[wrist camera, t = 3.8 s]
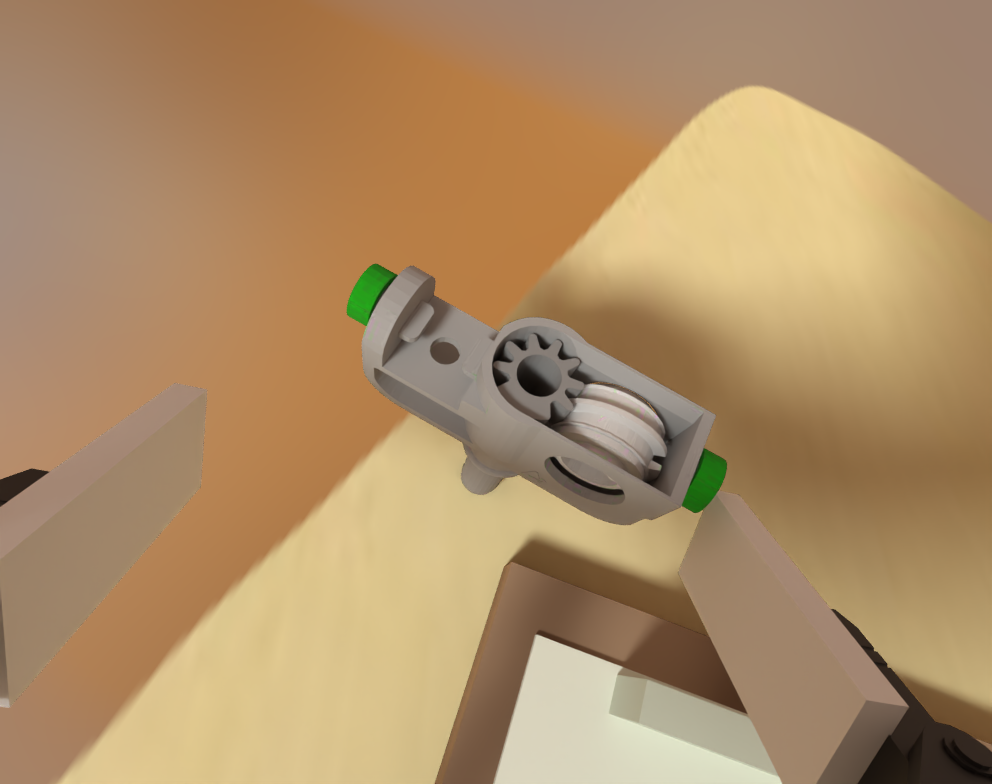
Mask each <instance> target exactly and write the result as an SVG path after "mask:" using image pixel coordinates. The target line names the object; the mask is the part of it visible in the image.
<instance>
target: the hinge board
mask: <svg viewBox="0 0 992 784" xmlns="http://www.w3.org/2000/svg"><path fill="white" fill-rule="evenodd" d="M974 739H976V738H974ZM976 740H977V741H979V742H980V743H982V744H983V745H985V746H986V747H987V748H988V749H989V750H990V751H992V744H989V743H987V742H984V741H981V740H979V739H976ZM435 784H782V782H781V780H780V778H779V776H778V774H777V772H776V770H775V768H774V766H773V764H772V762H771V760H770V758H769V756H768V754H767V752H766V750H765V747H764V745H763V743H762V741H761V739H760V737H759V735H758V733H757V731H756V729H755V727H754V725H753V723H752V721H751V719H750V717H749V715H748V713H747V711H746V709H745V707H744V705H743V703H742V701H741V699H740V697H739V695H738V693H737V691H736V689H735V687H734V685H733V683H732V681H731V679H730V677H729V675H728V673H727V671H726V669H725V667H724V665H723V663H722V661H721V659H720V657H719V655H718V653H717V651H716V649H715V647H714V645H713V643H712V641H711V639H710V637H708V636H706V635H703V634H700V633H698V632H695V631H692V630H690V629H687V628H685V627H682V626H679V625H677V624H674V623H671V622H669V621H666V620H664V619H661V618H658V617H656V616H653V615H650V614H648V613H645V612H643V611H640V610H637V609H635V608H632V607H629V606H627V605H624V604H622V603H619V602H616V601H614V600H611V599H608V598H606V597H603V596H601V595H598V594H595V593H593V592H590V591H587V590H585V589H582V588H580V587H577V586H574V585H572V584H569V583H566V582H564V581H561V580H559V579H556V578H553V577H551V576H548V575H545V574H543V573H540V572H538V571H535V570H532V569H530V568H527V567H524V566H522V565H519V564H517V563H514V562H511V563H509V564H508V565H506V566H505V567H504V569H503V572H502V575H501V578H500V581H499V585H498V588H497V591H496V594H495V597H494V600H493V603H492V606H491V610H490V613H489V616H488V619H487V622H486V625H485V628H484V631H483V635H482V638H481V641H480V644H479V647H478V650H477V653H476V656H475V660H474V663H473V666H472V669H471V672H470V675H469V678H468V681H467V685H466V688H465V691H464V694H463V697H462V700H461V703H460V706H459V710H458V713H457V716H456V719H455V722H454V725H453V728H452V731H451V734H450V738H449V741H448V744H447V747H446V750H445V753H444V756H443V759H442V763H441V766H440V769H439V772H438V775H437V778H436V781H435Z"/></svg>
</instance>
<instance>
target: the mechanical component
mask: <svg viewBox="0 0 992 784" xmlns="http://www.w3.org/2000/svg"><path fill="white" fill-rule="evenodd" d="M434 290H435V278H434V277H432V276H430V275H429V274H427V273H425V272H423V271H422V270H420V269H418V268H416V267H415V266H409V267H407V268H406V269H404V270H403V271H402V272H401V273H400V274H399V275H396V274H394V273H393V272H391V271H389V270H387V269H385V268H384V267H382V266H380V265H378V264H373V265H371V266H370V267H369V268H368V269H367V270H366V271H365V272H364V273H363V274H362V276H361V277H360V278H359V280H358V282H357V283H356V285H355V287H354V289H353V291H352V293H351V295H350V298H349V300H348V305H347V315H348V316H349V317H351V318H353V319H355V320H356V321H358V322H360V323H362V324H364V325H365V326H367V327H366V329H365V332H364V336H363V340H362V357H363V370H364V373H365V375H366V377H367V379H368V380H369V381H370V383H371V384H372V385H373V386H374V387H375V388H376V389H377V390H378V391H379V392H380V393H381V394H383V395H384V396H385V397H386V398H388V399H389V400H390V401H392V402H394V403H395V404H397V405H398V406H400V407H401V408H403V409H405V410H407V411H408V412H410V413H412V414H414V415H415V416H417V417H419V418H421V419H422V420H424V421H426V422H428V423H429V424H431V425H433V426H435V427H436V428H438V429H440V430H441V431H443V432H445V433H447V434H448V435H450V436H452V437H454V438H455V439H457V440H459V441H461V442H462V443H463V446H464V450H465V452H466V455H467V459H466V462H465V463H464V465H463V468H462V473H461V480H462V483H463V484H464V486H465V487H466V488H467V489H468V490H469V491H470V492H472V493H475V494H479V495H484V494H487V493H489V492H491V491H492V490H493V489H494V488H496V487H497V485H498V484H499V482H500V481H501V480H502V479H503V478H507V477H514V476H517V475H520V476H522V477H523V478H525V479H527V480H529V481H530V482H532V483H534V484H536V485H537V486H539V487H541V488H542V489H544V490H546V491H548V492H549V493H551V494H553V495H555V496H556V497H558V498H560V499H562V500H563V501H565V502H567V503H569V504H570V505H572V506H574V507H576V508H577V509H579V510H581V511H583V512H585V513H586V514H588V515H591V516H593V517H595V518H597V519H600V520H603V521H606V522H609V523H613V524H618V525H631V524H633V523H636V522H638V521H640V520H642V519H649V520H653V519H656V518H658V517H660V516H662V515H664V514H667V513H669V512H671V511H673V510H676V509H678V508H680V507H681V506H683V507H685V508H687V509H688V510H690V511H692V512H694V513H697V512H700V511H701V510H703V509H704V508H705V507H706V506H707V505H708V504H709V503H710V502H711V501H712V500H713V498H714V497H715V495H716V494H717V492H718V491H719V489H720V487H721V485H722V483H723V480H724V478H725V474H726V470H727V463H726V460H724V459H723V458H721V457H719V456H717V455H716V454H714V453H712V452H710V451H708V450H707V449H705V448H704V446H705V443H706V441H707V438H708V435H709V433H710V430H711V428H712V425H713V422H714V420H715V417H716V415H715V414H713V413H712V412H710V411H708V410H706V409H704V408H703V407H701V406H699V405H697V404H696V403H694V402H692V401H690V400H688V399H687V398H685V397H683V396H681V395H679V394H678V393H676V392H674V391H672V390H671V389H669V388H667V387H665V386H663V385H662V384H660V383H658V382H656V381H654V380H653V379H651V378H649V377H647V376H646V375H644V374H642V373H640V372H638V371H637V370H635V369H633V368H631V367H630V366H628V365H626V364H624V363H622V362H621V361H619V360H617V359H615V358H613V357H612V356H610V355H608V354H606V353H605V352H603V351H601V350H599V349H597V348H596V347H594V346H592V345H590V344H588V343H587V342H586V341H585V340H584V339H583V338H582V337H581V336H580V335H579V334H578V333H577V332H575V331H574V330H573V329H572V328H570V327H568V326H566V325H564V324H562V323H560V322H557V321H554V320H551V319H546V318H540V317H528V318H523V319H518V320H516V321H513V322H510V323H509V324H507V325H504V326H503V328H502V329H501V331H500V332H498V331H497V330H495V329H493V328H491V327H489V326H488V325H486V324H484V323H482V322H480V321H479V320H477V319H475V318H473V317H472V316H470V315H468V314H466V313H465V312H463V311H461V310H459V309H458V308H456V307H454V306H452V305H450V304H449V303H447V302H445V301H443V300H441V299H439V298H438V297H436V296H434ZM594 382H605V383H611V384H615V385H611V384H590V383H594ZM616 385H619V386H621V387H619V386H616ZM622 387H624V388H622ZM625 388H627V389H629V390H631V391H633V392H635V393H636V394H635V393H633V392H631V391H629V390H627V389H625ZM637 394H638V395H639V396H641V397H642V398H644V399H645V400H646V401H647V402H648V403H649V404H650V405H651V406H652V407H653V408H654V410H655V411H656V413H657V415H656V414H655V413H654V412H653V410H652V409H651V407H650V406H649V404H648V403H647V402H645V401H644V400H643V399H642V398H641V397H639V396H638V395H637Z"/></svg>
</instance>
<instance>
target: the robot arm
mask: <svg viewBox="0 0 992 784" xmlns="http://www.w3.org/2000/svg"><path fill="white" fill-rule="evenodd" d="M206 400H207V390H206V389H202V388H197V387H191V386H186V385H181V384H176V383H174V384H173V385H171V386H170V387H168V388H167V389H166V390H164V391H163V392H161V393H160V394H159V395H157V396H156V397H154V398H153V399H152V400H150V401H149V402H147V403H146V404H145V405H143V406H142V407H140V408H139V409H138V410H136V411H135V412H133V413H132V414H131V415H129V416H128V417H126V418H125V419H124V420H122V421H121V422H119V423H118V424H116V425H115V426H114V427H112V428H111V429H109V430H108V431H107V432H105V433H104V434H102V435H101V436H100V437H98V438H97V439H95V440H94V441H92V442H91V443H90V444H88V445H87V446H85V447H84V448H83V449H81V450H80V451H79V452H77V453H76V454H74V455H73V456H71V457H70V458H69V459H67V460H66V461H64V462H63V463H62V464H60V465H59V466H57V467H56V468H55V469H53V470H52V471H50V472H48V471H42V470H36V469H29V470H26V471H23V472H20V473H17V474H15V475H12V476H9V477H6V478H3V479H1V480H0V706H2V707H11V705H12V704H13V703H14V702H15V701H16V700H17V699H18V697H19V696H20V695H21V694H22V693H23V692H24V690H25V689H26V688H27V687H28V686H29V685H30V683H31V682H32V681H33V680H34V679H35V678H36V677H37V675H38V674H39V673H40V672H41V671H42V670H43V668H44V667H45V666H46V665H47V664H48V663H49V662H50V660H51V659H52V658H53V657H54V656H55V655H56V654H57V652H58V651H59V650H60V649H61V648H62V647H63V646H64V644H65V643H66V642H67V641H68V640H69V639H70V637H71V636H72V635H73V634H74V633H75V632H76V631H77V629H78V628H79V627H80V626H81V625H82V624H83V622H84V621H85V620H86V619H87V618H88V617H89V615H90V614H91V613H92V612H93V611H94V610H95V609H96V607H97V606H98V605H99V604H100V603H101V602H102V600H103V599H104V598H105V597H106V596H107V595H108V593H109V592H110V591H111V590H112V589H113V588H114V586H115V585H116V584H117V583H118V582H119V581H120V580H121V579H122V577H123V576H124V575H125V574H126V573H127V572H128V570H129V569H130V568H131V567H132V566H133V564H135V562H136V561H137V560H138V559H139V558H140V557H141V555H142V554H143V553H144V552H145V551H146V550H147V549H148V547H149V546H150V545H151V544H152V543H153V542H154V540H155V539H156V538H157V537H158V536H159V534H161V532H162V531H163V530H164V529H165V528H166V527H167V525H168V524H169V523H170V522H171V521H172V520H173V518H174V517H175V516H176V515H177V514H178V513H179V512H180V510H181V509H182V508H183V507H184V506H185V505H186V504H187V502H188V501H189V500H190V499H191V498H192V497H193V495H194V494H195V493H196V492H197V491H198V490H199V488H200V487H201V477H202V461H203V446H204V445H203V444H204V431H205V414H206ZM678 574H679V576H680V578H681V580H682V582H683V584H684V586H685V588H686V590H687V592H688V594H689V596H690V598H691V600H692V602H693V604H694V606H695V608H696V610H697V612H698V614H699V616H700V618H701V620H702V622H703V624H704V626H705V628H706V630H707V633H708V635H709V637H710V639H711V641H712V643H713V645H714V647H715V649H716V651H717V653H718V655H719V657H720V659H721V661H722V663H723V665H724V667H725V669H726V671H727V673H728V675H729V677H730V679H731V681H732V683H733V685H734V687H735V689H736V691H737V693H738V695H739V697H740V699H741V701H742V703H743V705H744V707H745V709H746V711H747V713H748V715H749V717H750V719H751V721H752V723H753V725H754V727H755V729H756V731H757V733H758V735H759V737H760V739H761V741H762V743H763V745H764V747H765V750H766V752H767V754H768V756H769V758H770V760H771V762H772V764H773V766H774V768H775V770H776V772H777V774H778V776H779V778H780V780H781V782H782V784H992V751H990V750H989V749H988V748H987V747H986V746H985V745H983V744H982V743H980V742H979V741H977V740H976V739H974V738H973V737H972V736H970V735H969V734H967V733H965V732H963V731H961V730H959V729H956V728H954V727H952V726H950V725H946V724H942V723H938V722H935V721H934V720H933V719H932V717H931V716H930V715H929V714H928V713H927V711H926V710H925V709H924V708H923V707H922V705H921V704H920V703H919V702H918V701H917V699H916V698H915V697H914V696H913V694H912V693H911V692H910V691H909V690H908V688H907V687H906V686H905V685H904V684H903V682H902V681H901V680H900V679H899V678H898V676H897V675H896V674H895V673H894V671H893V670H892V669H891V668H888V667H887V663H886V662H885V661H884V659H883V658H882V657H881V656H880V655H879V653H878V652H876V651H874V647H873V646H872V645H871V644H870V642H869V641H868V640H867V639H866V638H865V636H864V635H863V634H862V633H861V632H860V630H859V629H858V628H857V627H856V626H854V625H853V624H852V623H851V622H850V621H848V620H847V619H846V618H845V617H843V616H842V615H841V614H840V613H839V612H837V611H836V610H834V609H830V608H829V606H828V605H827V604H826V603H825V601H824V600H823V599H822V598H821V596H820V595H819V594H818V593H817V591H816V590H815V589H814V588H813V586H812V585H811V584H810V583H809V581H808V580H807V579H806V578H805V576H804V575H803V574H802V573H801V571H800V570H799V569H798V568H797V566H796V565H795V564H794V563H793V561H792V560H791V559H790V558H789V556H788V555H787V554H786V553H785V551H784V550H783V549H782V548H781V546H780V545H779V544H778V543H777V541H776V540H775V539H774V538H773V536H772V535H771V534H770V533H769V531H768V530H767V529H766V528H765V526H764V525H763V524H762V523H761V521H760V520H759V519H758V518H757V516H756V515H755V514H754V513H753V511H752V510H751V509H750V508H749V506H748V505H747V504H746V503H745V501H744V500H743V499H742V498H741V496H740V495H739V494H734V493H729V492H724V491H718V492H717V494H716V495H715V497H714V498H713V500H712V501H711V502H710V503H709V504H708V505H707V506H706V507H705V508H704V511H703V513H702V515H701V518H700V520H699V523H698V525H697V527H696V530H695V532H694V535H693V537H692V540H691V542H690V544H689V547H688V549H687V552H686V554H685V557H684V559H683V561H682V564H681V566H680V569H679V571H678Z"/></svg>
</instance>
